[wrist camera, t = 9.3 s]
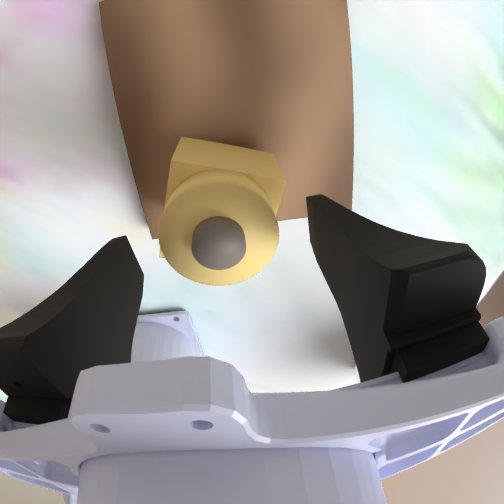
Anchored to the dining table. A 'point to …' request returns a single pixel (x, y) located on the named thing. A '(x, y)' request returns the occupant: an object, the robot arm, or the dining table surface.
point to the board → (235, 89)
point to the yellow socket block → (220, 211)
